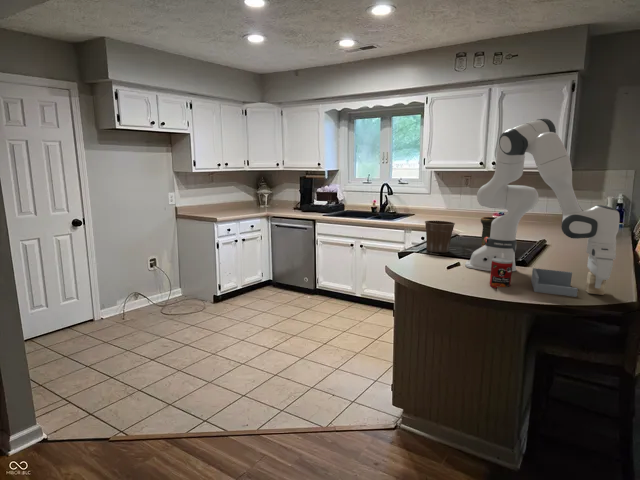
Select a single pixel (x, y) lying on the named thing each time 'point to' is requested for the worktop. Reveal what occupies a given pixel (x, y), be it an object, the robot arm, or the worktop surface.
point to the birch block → (590, 285)
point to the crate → (553, 282)
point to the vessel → (486, 227)
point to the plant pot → (438, 235)
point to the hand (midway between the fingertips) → (595, 285)
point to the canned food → (501, 272)
